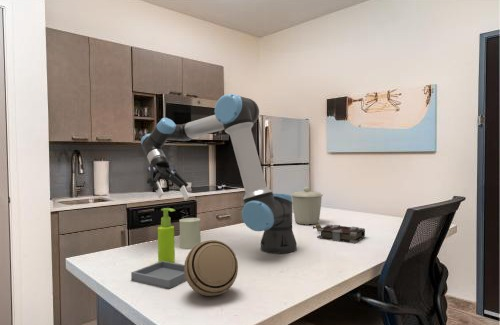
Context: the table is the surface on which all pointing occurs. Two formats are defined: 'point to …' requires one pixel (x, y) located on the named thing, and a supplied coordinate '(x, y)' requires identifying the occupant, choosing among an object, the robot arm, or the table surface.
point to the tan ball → (211, 268)
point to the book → (340, 233)
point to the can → (189, 232)
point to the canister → (306, 206)
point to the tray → (160, 274)
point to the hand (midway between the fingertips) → (174, 197)
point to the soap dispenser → (166, 238)
